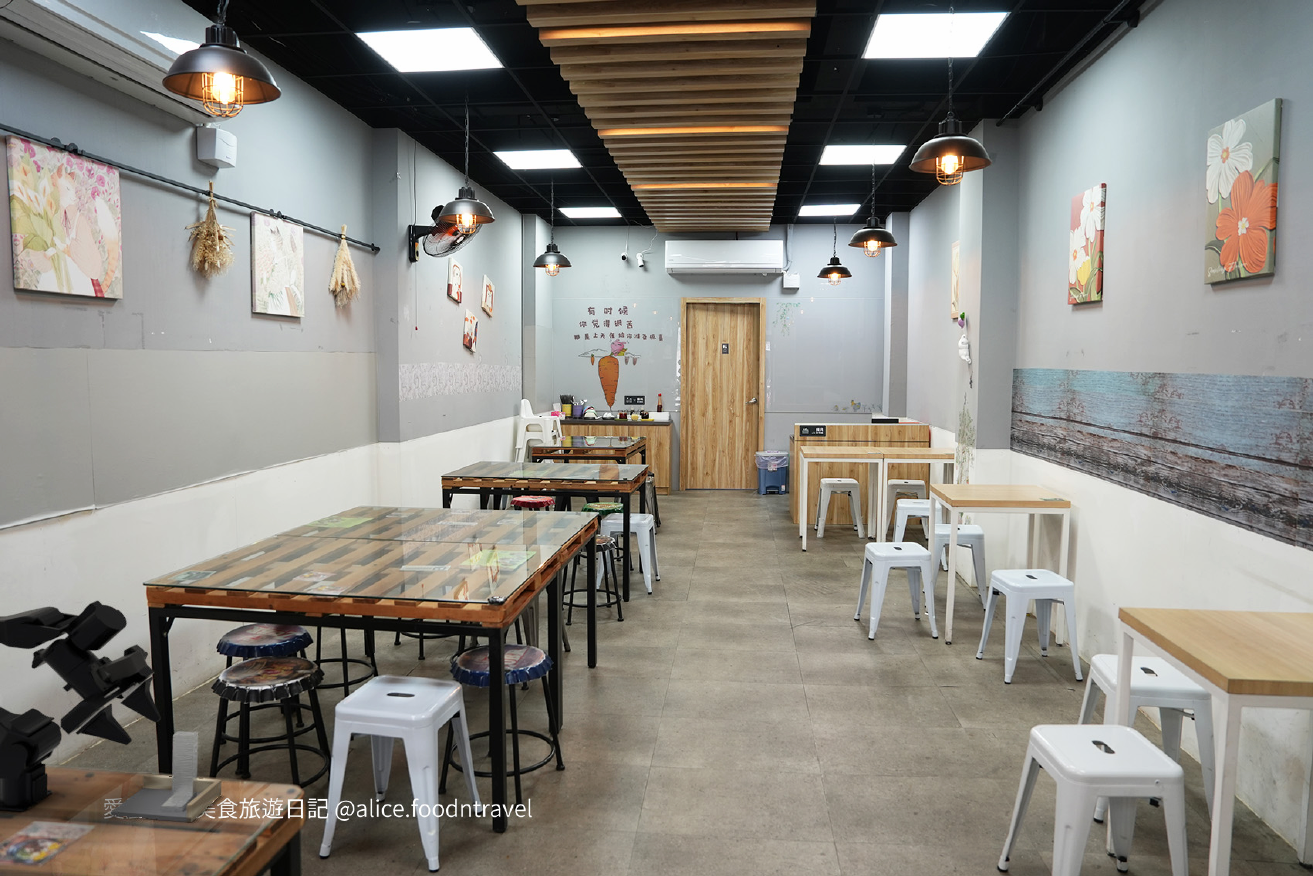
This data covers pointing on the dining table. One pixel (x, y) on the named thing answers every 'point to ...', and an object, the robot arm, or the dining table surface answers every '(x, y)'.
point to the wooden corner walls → (208, 794)
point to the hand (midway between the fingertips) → (144, 731)
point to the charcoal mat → (150, 806)
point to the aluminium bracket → (183, 772)
